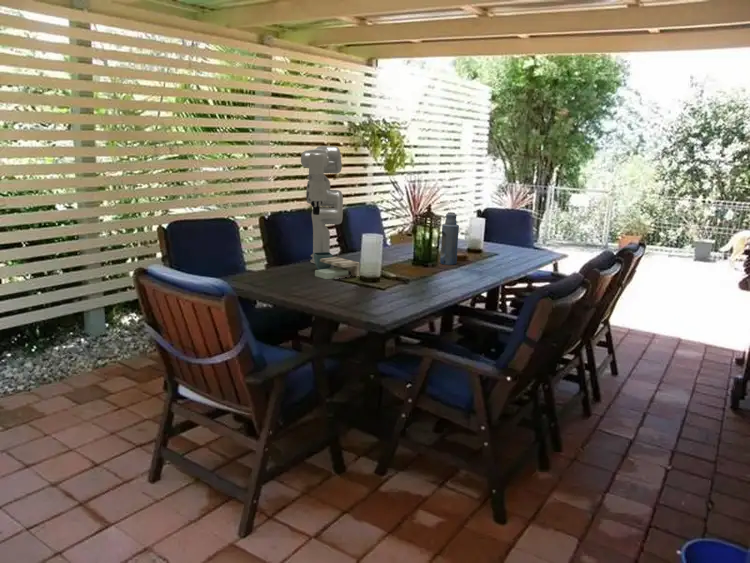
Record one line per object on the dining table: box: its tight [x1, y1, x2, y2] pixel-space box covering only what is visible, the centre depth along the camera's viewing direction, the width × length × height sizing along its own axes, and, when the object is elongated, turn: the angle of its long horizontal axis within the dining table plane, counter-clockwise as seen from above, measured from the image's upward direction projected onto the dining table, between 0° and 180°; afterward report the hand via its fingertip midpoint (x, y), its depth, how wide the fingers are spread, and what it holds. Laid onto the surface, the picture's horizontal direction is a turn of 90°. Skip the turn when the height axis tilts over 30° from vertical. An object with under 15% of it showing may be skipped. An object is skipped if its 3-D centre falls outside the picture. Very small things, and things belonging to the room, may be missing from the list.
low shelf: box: [320, 256, 361, 280], centre depth 305 cm, size 20×14×8 cm
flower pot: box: [314, 252, 334, 270], centre depth 318 cm, size 9×9×9 cm
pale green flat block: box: [314, 267, 348, 280], centre depth 303 cm, size 10×14×3 cm
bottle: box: [439, 211, 460, 266], centre depth 343 cm, size 10×10×30 cm
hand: (316, 214), depth 300 cm, fingers closed
